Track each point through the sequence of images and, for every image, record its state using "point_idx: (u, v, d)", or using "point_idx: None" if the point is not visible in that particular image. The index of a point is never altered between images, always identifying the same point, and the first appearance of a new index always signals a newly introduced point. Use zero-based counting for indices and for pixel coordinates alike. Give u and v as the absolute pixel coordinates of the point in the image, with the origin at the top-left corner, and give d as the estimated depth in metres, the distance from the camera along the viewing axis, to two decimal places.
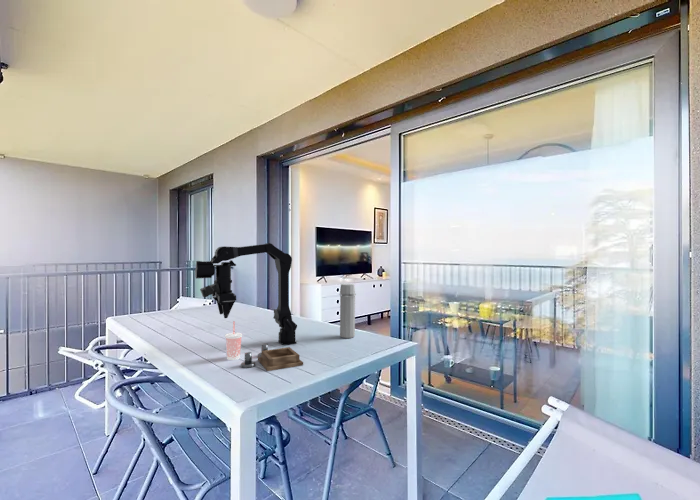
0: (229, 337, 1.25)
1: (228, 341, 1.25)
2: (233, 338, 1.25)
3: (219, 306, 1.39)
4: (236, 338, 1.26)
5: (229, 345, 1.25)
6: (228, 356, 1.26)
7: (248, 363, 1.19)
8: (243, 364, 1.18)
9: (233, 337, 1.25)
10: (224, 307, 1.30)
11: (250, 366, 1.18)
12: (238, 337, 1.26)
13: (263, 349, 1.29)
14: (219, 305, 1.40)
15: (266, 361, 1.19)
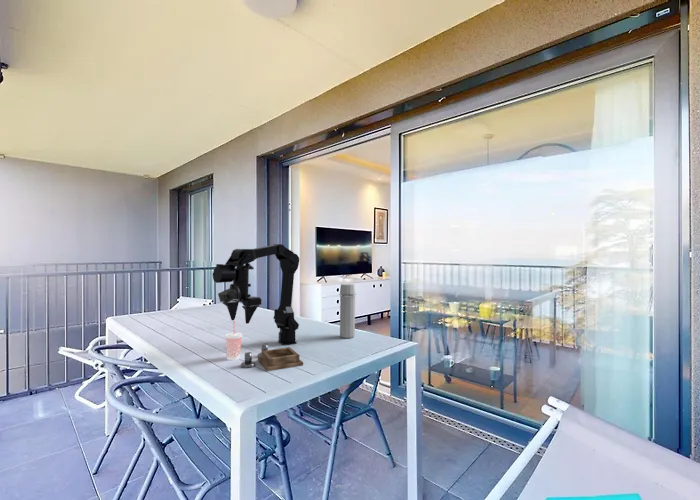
0: (229, 337, 1.25)
1: (228, 341, 1.25)
2: (233, 338, 1.25)
3: (231, 312, 1.32)
4: (236, 338, 1.26)
5: (229, 345, 1.25)
6: (228, 356, 1.26)
7: (248, 363, 1.19)
8: (243, 364, 1.18)
9: (233, 337, 1.25)
10: (248, 312, 1.26)
11: (250, 366, 1.18)
12: (238, 337, 1.26)
13: (263, 349, 1.29)
14: (231, 311, 1.32)
15: (266, 361, 1.19)
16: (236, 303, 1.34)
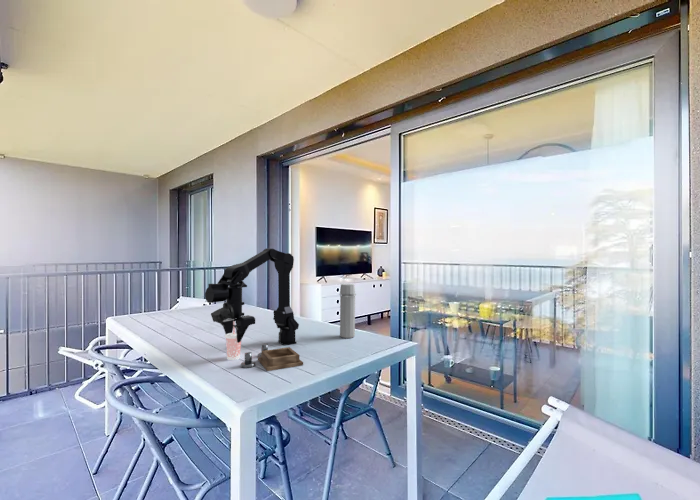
0: (229, 337, 1.25)
1: (228, 341, 1.25)
2: (233, 338, 1.25)
3: (227, 331, 1.29)
4: (236, 338, 1.26)
5: (229, 345, 1.25)
6: (228, 356, 1.26)
7: (248, 363, 1.19)
8: (243, 364, 1.18)
9: (233, 337, 1.25)
10: (239, 331, 1.25)
11: (250, 366, 1.18)
12: None
13: (263, 349, 1.29)
14: (227, 330, 1.29)
15: (266, 361, 1.19)
16: (232, 322, 1.31)
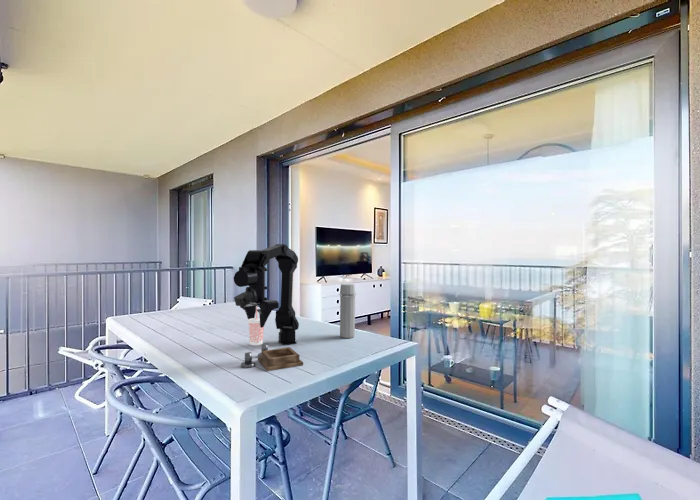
0: (252, 322, 1.22)
1: (251, 326, 1.23)
2: (256, 323, 1.22)
3: (249, 316, 1.27)
4: (259, 323, 1.23)
5: (252, 330, 1.23)
6: (251, 341, 1.23)
7: (248, 363, 1.19)
8: (243, 364, 1.18)
9: (256, 322, 1.22)
10: (262, 315, 1.22)
11: (250, 366, 1.18)
12: None
13: (263, 349, 1.29)
14: (249, 315, 1.27)
15: (266, 361, 1.19)
16: (254, 307, 1.29)
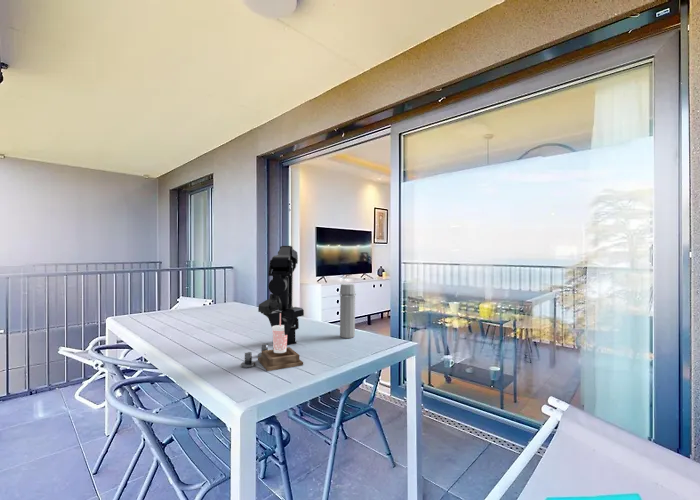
0: (276, 329, 1.21)
1: (275, 333, 1.21)
2: (280, 330, 1.21)
3: (273, 323, 1.25)
4: (283, 330, 1.21)
5: (276, 337, 1.21)
6: (275, 349, 1.21)
7: (248, 363, 1.19)
8: (243, 364, 1.18)
9: (281, 329, 1.21)
10: (287, 323, 1.20)
11: (250, 366, 1.18)
12: None
13: (263, 349, 1.29)
14: (273, 322, 1.25)
15: (266, 361, 1.19)
16: (277, 314, 1.27)
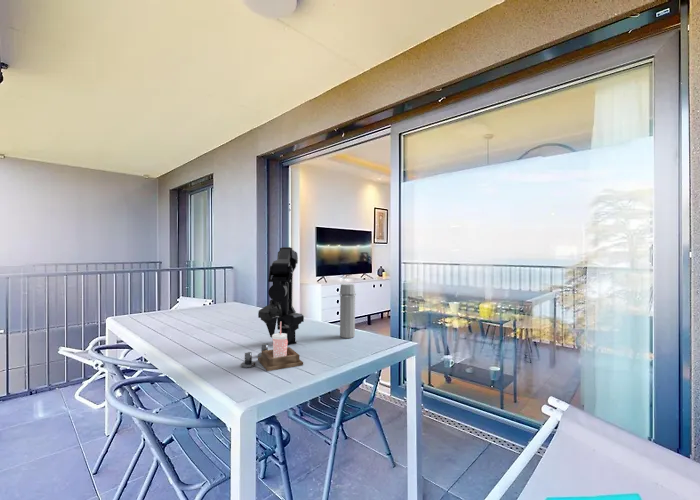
0: (276, 338, 1.21)
1: (275, 342, 1.21)
2: (281, 339, 1.21)
3: (270, 328, 1.26)
4: (283, 339, 1.21)
5: (276, 346, 1.21)
6: (275, 357, 1.21)
7: (248, 363, 1.19)
8: (243, 364, 1.18)
9: (281, 338, 1.21)
10: (290, 330, 1.19)
11: (250, 366, 1.18)
12: (285, 338, 1.22)
13: (263, 349, 1.29)
14: (270, 327, 1.26)
15: (266, 361, 1.19)
16: (274, 319, 1.28)
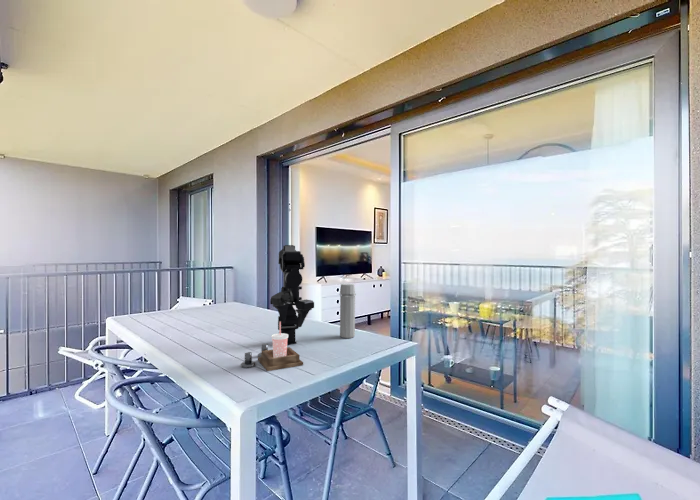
0: (276, 338, 1.21)
1: (275, 342, 1.21)
2: (280, 339, 1.21)
3: (282, 315, 1.30)
4: (283, 339, 1.21)
5: (276, 346, 1.21)
6: (275, 357, 1.21)
7: (248, 363, 1.19)
8: (243, 364, 1.18)
9: (280, 338, 1.21)
10: (301, 315, 1.24)
11: (250, 366, 1.18)
12: (285, 338, 1.22)
13: (263, 349, 1.29)
14: (282, 314, 1.30)
15: (266, 361, 1.19)
16: (286, 306, 1.33)
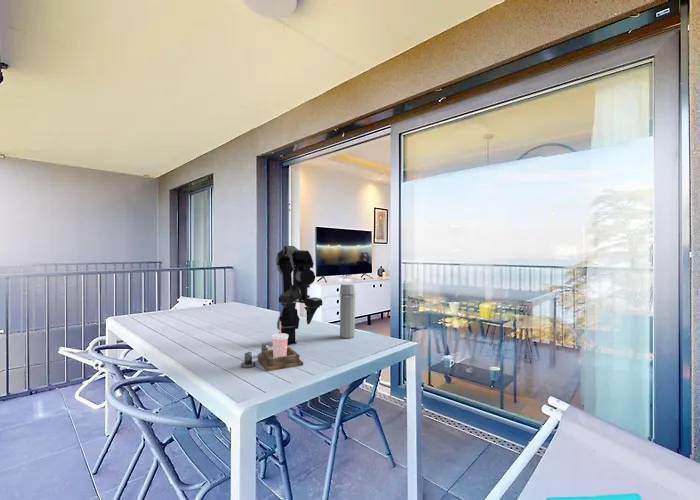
0: (276, 338, 1.21)
1: (275, 342, 1.21)
2: (280, 339, 1.21)
3: (290, 312, 1.34)
4: (283, 339, 1.21)
5: (276, 346, 1.21)
6: (275, 357, 1.21)
7: (248, 363, 1.19)
8: (243, 364, 1.18)
9: (280, 338, 1.21)
10: (309, 313, 1.27)
11: (250, 366, 1.18)
12: (285, 338, 1.22)
13: (263, 349, 1.29)
14: (290, 311, 1.34)
15: (266, 361, 1.19)
16: (294, 304, 1.36)
